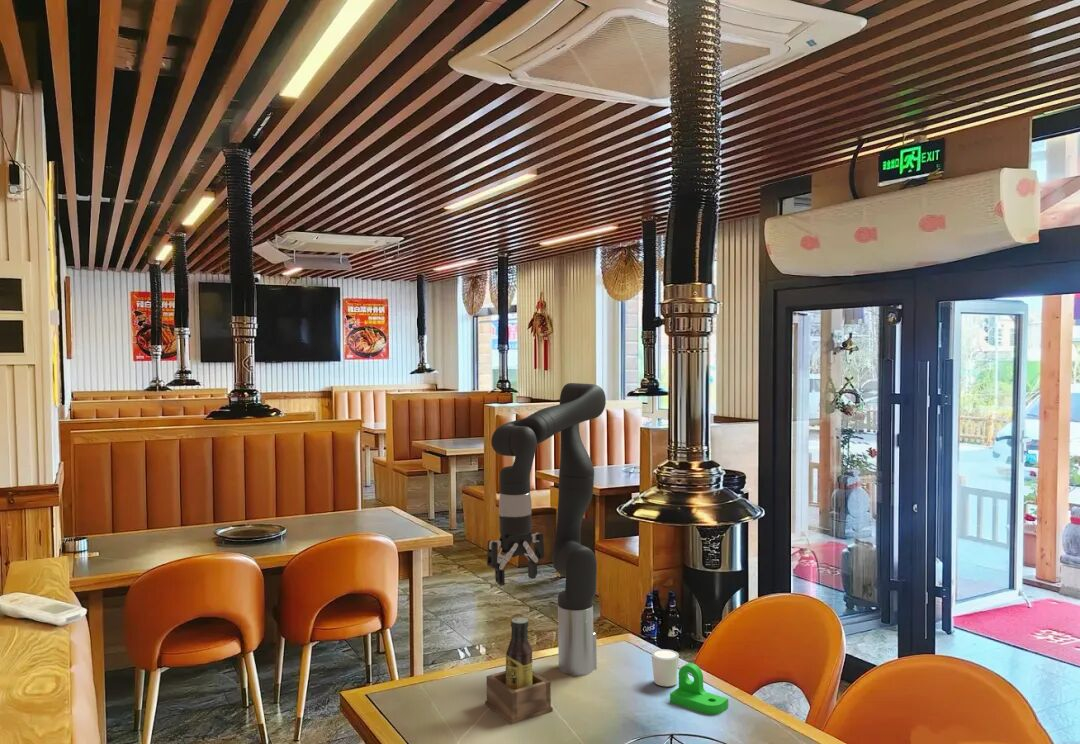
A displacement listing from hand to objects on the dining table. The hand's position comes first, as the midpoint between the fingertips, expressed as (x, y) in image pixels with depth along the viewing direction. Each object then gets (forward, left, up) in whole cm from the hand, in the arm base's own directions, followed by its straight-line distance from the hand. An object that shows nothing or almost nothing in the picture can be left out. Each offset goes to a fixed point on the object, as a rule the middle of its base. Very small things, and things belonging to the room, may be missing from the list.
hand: (516, 581), depth 180 cm
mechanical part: (-36, +22, -31) cm, 52 cm away
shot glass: (-38, +9, -30) cm, 49 cm away
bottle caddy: (0, 0, -30) cm, 30 cm away
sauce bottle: (0, 0, -29) cm, 29 cm away
